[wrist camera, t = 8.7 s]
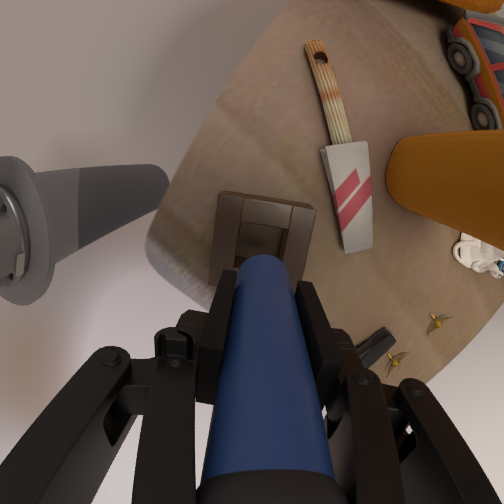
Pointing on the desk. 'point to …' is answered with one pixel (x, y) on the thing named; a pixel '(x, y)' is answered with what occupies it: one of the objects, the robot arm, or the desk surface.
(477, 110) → the toy car
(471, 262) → the tentacle sculpture
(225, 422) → the handle
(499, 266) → the toy
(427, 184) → the flashlight
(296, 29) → the desk surface
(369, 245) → the paintbrush
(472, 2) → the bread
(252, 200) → the holder
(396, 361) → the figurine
